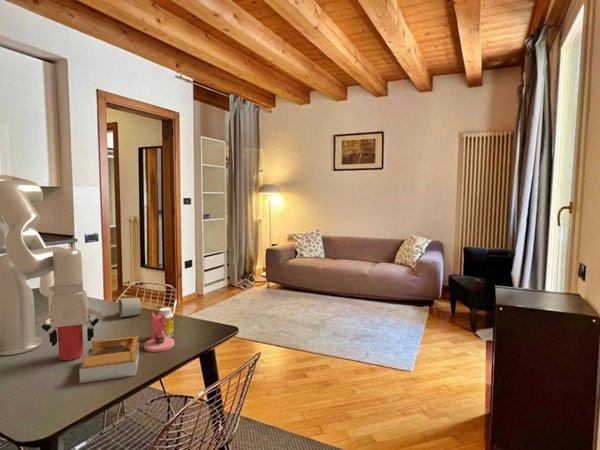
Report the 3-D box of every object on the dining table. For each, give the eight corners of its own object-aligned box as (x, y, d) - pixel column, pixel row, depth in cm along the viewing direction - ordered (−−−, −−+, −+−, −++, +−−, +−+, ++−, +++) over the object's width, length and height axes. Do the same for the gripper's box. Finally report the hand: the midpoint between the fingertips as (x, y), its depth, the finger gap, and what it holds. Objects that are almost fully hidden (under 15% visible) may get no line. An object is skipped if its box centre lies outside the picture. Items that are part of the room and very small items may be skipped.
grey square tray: (79, 383, 99) (79, 360, 98) (89, 360, 112) (89, 340, 111) (135, 375, 104) (135, 353, 103) (139, 354, 117) (138, 335, 116)
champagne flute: (53, 324, 141) (50, 263, 139) (36, 323, 141) (33, 263, 139) (65, 318, 148) (62, 260, 146) (48, 317, 148) (46, 260, 146)
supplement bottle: (173, 338, 130) (173, 310, 129) (157, 340, 128) (156, 312, 127) (173, 332, 135) (173, 305, 134) (157, 334, 133) (157, 307, 132)
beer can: (71, 362, 111) (70, 324, 110) (53, 360, 112) (51, 322, 111) (88, 353, 117) (87, 317, 116) (71, 351, 118) (69, 315, 117)
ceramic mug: (143, 316, 152) (142, 298, 152) (121, 319, 147) (121, 301, 147) (137, 309, 161) (136, 292, 160) (117, 313, 156) (116, 295, 155)
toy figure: (180, 343, 126) (180, 309, 125) (159, 354, 117) (158, 318, 116) (159, 338, 130) (158, 305, 129) (137, 348, 121) (136, 313, 120)
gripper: (31, 294, 106) (35, 351, 107) (98, 288, 112) (101, 342, 113) (40, 288, 113) (43, 341, 114) (102, 283, 119) (105, 333, 120)
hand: (72, 341), depth 114 cm, fingers open, 9 cm apart
